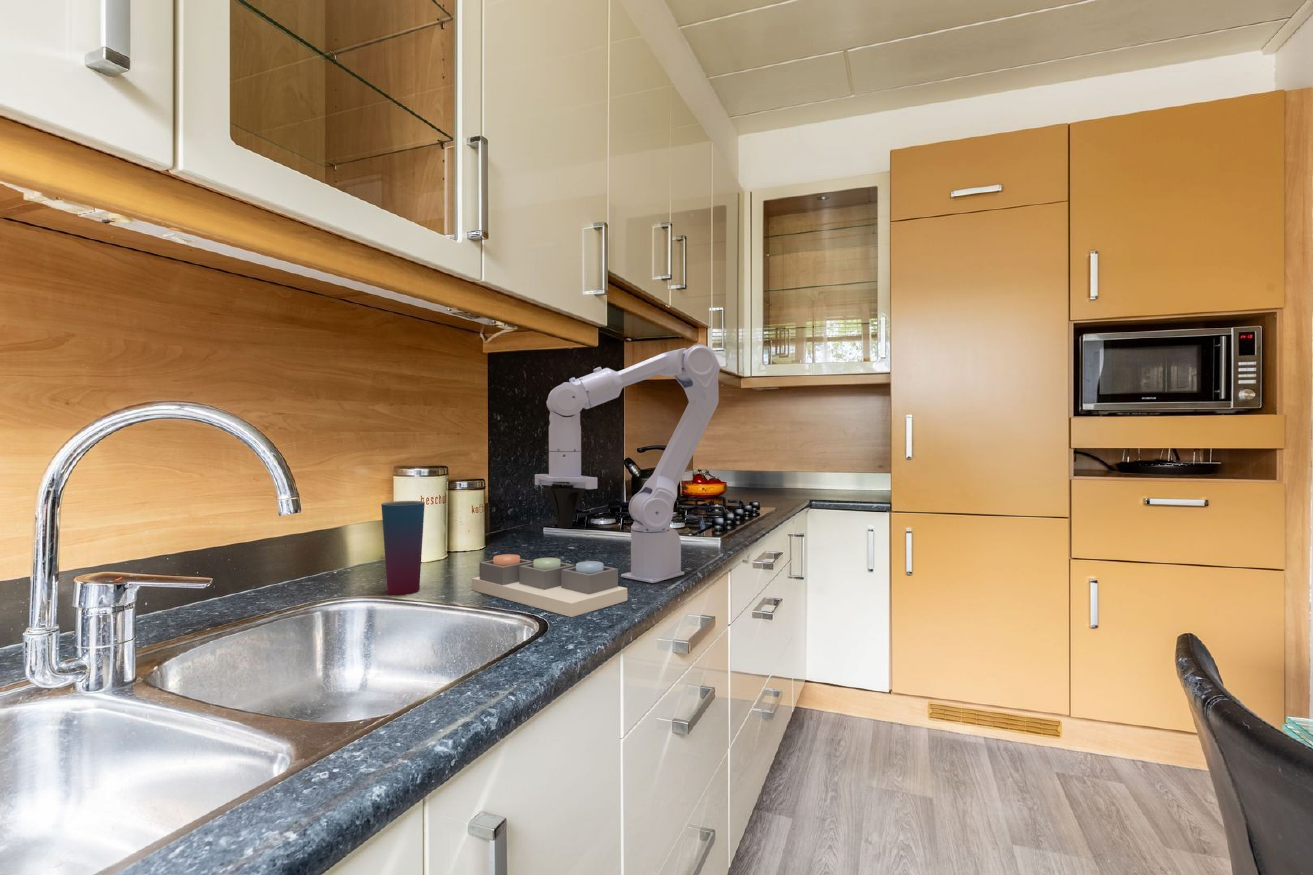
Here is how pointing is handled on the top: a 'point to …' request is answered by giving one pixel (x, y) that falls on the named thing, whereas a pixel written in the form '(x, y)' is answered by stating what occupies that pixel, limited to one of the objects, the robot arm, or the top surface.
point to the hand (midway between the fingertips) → (565, 527)
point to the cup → (403, 545)
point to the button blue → (589, 567)
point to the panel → (551, 587)
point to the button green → (546, 563)
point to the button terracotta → (506, 560)
